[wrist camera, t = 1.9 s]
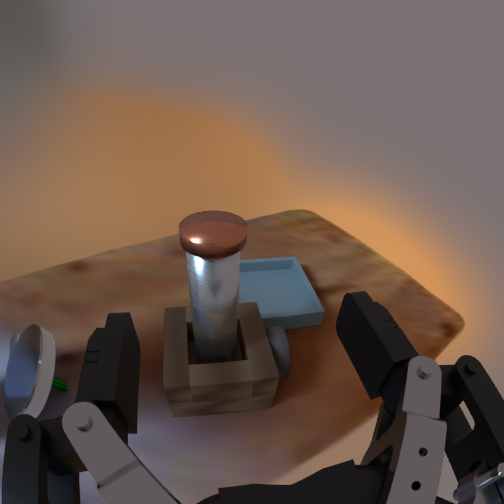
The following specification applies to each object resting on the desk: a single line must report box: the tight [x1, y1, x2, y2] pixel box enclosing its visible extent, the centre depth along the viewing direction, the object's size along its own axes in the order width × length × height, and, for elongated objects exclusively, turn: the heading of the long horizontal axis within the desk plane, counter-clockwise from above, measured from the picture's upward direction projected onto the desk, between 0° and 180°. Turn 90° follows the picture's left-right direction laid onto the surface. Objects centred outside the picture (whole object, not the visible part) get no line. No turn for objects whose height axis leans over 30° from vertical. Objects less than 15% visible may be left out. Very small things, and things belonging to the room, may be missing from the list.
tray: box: [238, 257, 325, 330], centre depth 41 cm, size 13×13×2 cm
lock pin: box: [179, 211, 247, 364], centre depth 25 cm, size 5×5×15 cm
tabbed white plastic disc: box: [4, 324, 67, 421], centre depth 23 cm, size 15×8×11 cm
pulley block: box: [163, 302, 291, 417], centre depth 29 cm, size 12×10×6 cm
